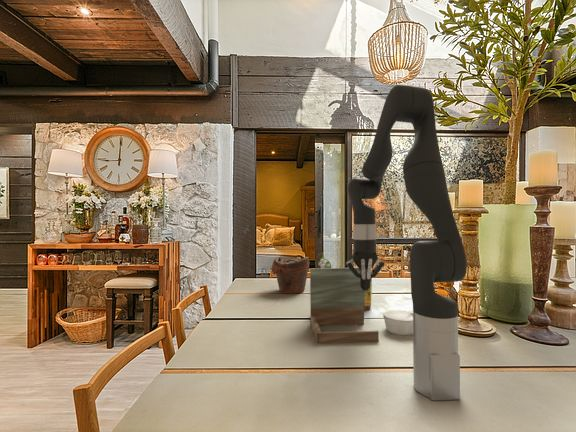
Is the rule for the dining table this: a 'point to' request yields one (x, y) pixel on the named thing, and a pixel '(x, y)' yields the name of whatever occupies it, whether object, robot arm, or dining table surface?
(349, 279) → the cold frame
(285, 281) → the brown flower pot
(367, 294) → the sauce bottle
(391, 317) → the ramekin
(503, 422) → the dining table surface
